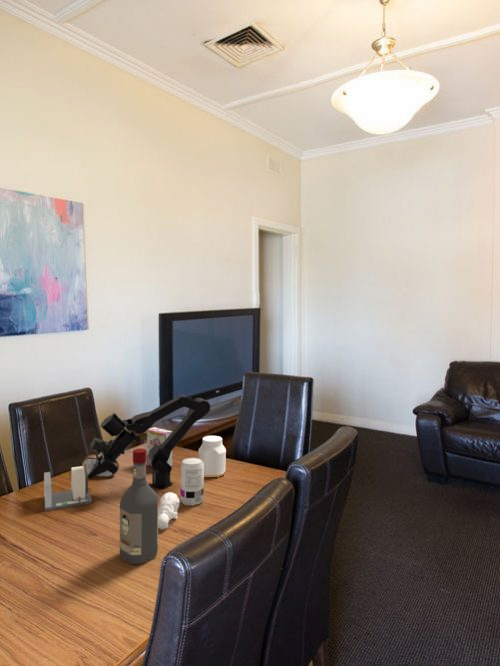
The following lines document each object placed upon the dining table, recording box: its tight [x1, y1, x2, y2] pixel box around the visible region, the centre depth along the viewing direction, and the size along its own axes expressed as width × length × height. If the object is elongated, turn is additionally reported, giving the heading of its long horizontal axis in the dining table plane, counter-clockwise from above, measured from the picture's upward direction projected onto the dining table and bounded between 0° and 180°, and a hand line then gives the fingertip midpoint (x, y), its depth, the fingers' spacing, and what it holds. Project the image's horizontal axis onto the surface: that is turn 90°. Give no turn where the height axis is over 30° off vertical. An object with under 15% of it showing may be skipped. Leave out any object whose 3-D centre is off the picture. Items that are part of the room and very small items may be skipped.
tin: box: [81, 454, 120, 478], centre depth 182 cm, size 15×3×8 cm, turn 84°
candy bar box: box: [146, 426, 173, 468], centre depth 193 cm, size 11×5×16 cm, turn 58°
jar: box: [197, 435, 227, 475], centre depth 187 cm, size 12×10×15 cm
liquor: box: [119, 448, 159, 565], centre depth 125 cm, size 9×9×30 cm
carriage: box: [70, 465, 89, 501], centre depth 160 cm, size 5×10×9 cm, turn 26°
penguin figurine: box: [158, 491, 181, 531], centre depth 144 cm, size 6×8×12 cm
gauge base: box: [43, 471, 93, 512], centre depth 159 cm, size 15×12×9 cm
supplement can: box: [179, 457, 205, 506], centre depth 160 cm, size 8×8×15 cm
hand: (88, 477), depth 162 cm, fingers closed
